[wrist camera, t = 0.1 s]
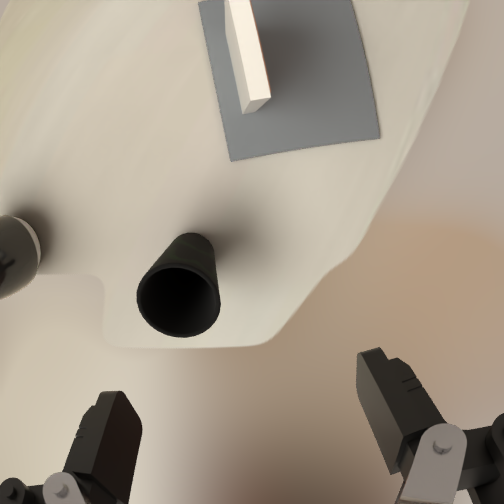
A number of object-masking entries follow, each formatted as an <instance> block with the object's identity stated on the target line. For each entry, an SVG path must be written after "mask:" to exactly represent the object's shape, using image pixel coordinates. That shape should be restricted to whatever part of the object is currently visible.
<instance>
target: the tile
mask: <svg viewBox="0 0 504 504" xmlns="http://www.w3.org/2000/svg"><path fill="white" fill-rule="evenodd" d="M224 4H225V33H226V38H227V43H228V47H229V52H230V57H231V62H232V66H233V71H234V76H235V81H236V85H237V90H238V95H239V100H240V105H241V110H242V114H248V113H253V112H256V111H257V110H258V109H259V108H260V107H261V106H262V105H263V104H264V103H265V102H267V101H268V100H269V99H270V98H271V94H270V93H271V88H270V83H269V78H268V74H267V69H266V64H265V60H264V55H263V51H262V46H261V42H260V37H259V33H258V29H257V24H256V20H255V16H254V12H253V8H252V4H251V0H224Z"/></svg>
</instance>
